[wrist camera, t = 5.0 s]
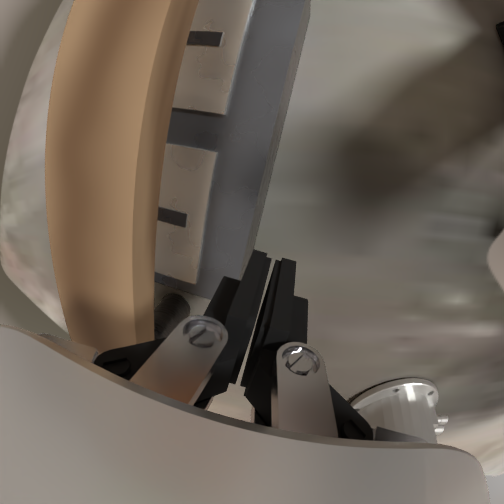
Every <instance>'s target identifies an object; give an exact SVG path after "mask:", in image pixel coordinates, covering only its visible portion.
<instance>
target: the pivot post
mask: <svg viewBox="0 0 504 504" xmlns="http://www.w3.org/2000/svg"><path fill="white" fill-rule="evenodd" d="M189 314H190V306H189V304H188V303H187V301H186V300H185V299H184V298H182V297H181V296H179V295H176V294H168V295H166V296H165V297H164V298H163V299H162V300H161V302H160V303H159V304H158V306H157V307H156V308H155V310H154V340H157V339H161V338H166V337H168V336H169V335H170V334H171V332H172V331H173V330H174V329H175V328H176V327H177V326H178V324H179V323H180V322H181V321H183V320H184V319H185V318H187V317H188V316H189Z"/></svg>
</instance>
